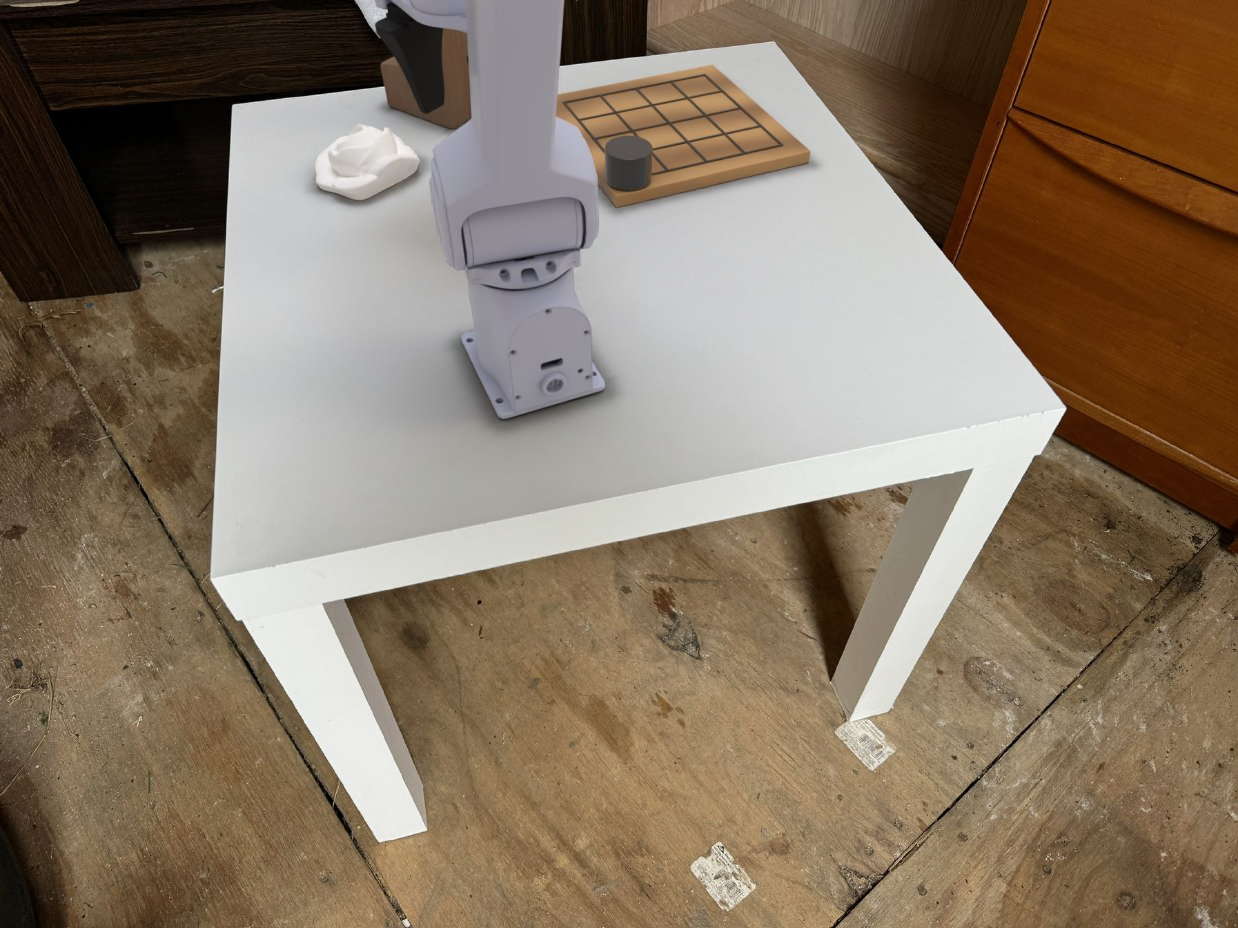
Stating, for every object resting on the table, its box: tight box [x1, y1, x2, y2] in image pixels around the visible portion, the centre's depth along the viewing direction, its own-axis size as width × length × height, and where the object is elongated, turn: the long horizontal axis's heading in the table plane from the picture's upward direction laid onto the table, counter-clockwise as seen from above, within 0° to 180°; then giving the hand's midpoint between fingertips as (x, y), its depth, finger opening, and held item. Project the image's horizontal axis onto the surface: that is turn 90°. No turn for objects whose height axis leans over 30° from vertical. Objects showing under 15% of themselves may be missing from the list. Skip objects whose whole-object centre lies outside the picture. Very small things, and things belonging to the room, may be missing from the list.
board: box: [556, 64, 811, 208], centre depth 87 cm, size 20×20×1 cm
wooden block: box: [380, 28, 472, 129], centre depth 84 cm, size 9×4×18 cm, turn 56°
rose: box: [314, 123, 421, 201], centre depth 80 cm, size 10×4×10 cm
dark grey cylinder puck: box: [605, 136, 653, 191], centre depth 78 cm, size 4×4×3 cm
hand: (467, 122), depth 70 cm, fingers open, 7 cm apart
